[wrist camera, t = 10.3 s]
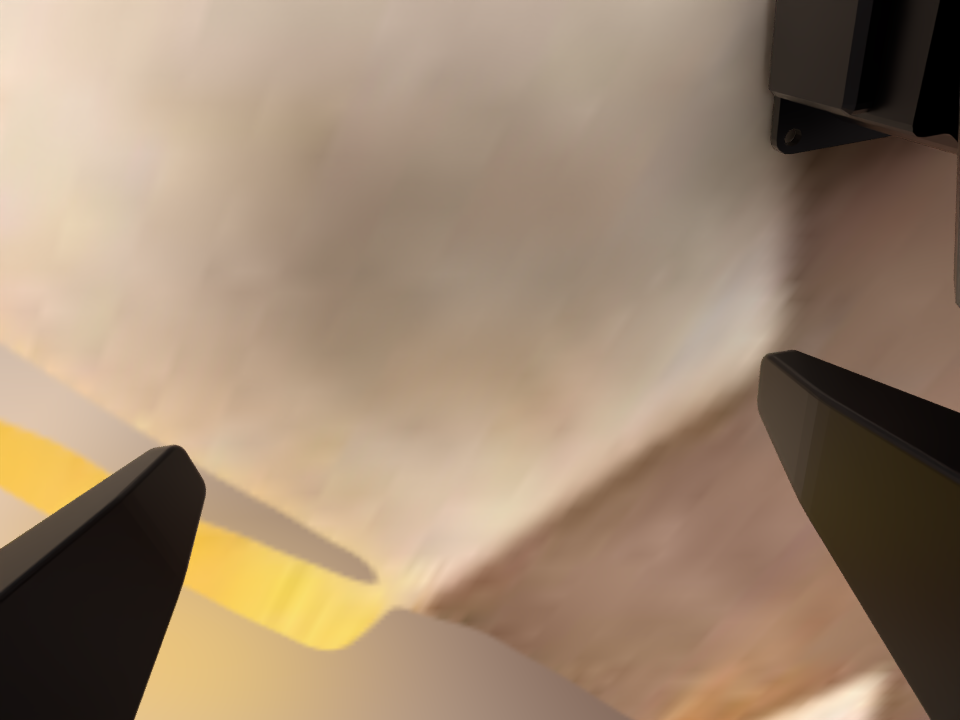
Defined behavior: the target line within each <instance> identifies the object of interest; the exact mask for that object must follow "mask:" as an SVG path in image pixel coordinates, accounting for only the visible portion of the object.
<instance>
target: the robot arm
mask: <svg viewBox="0 0 960 720" xmlns="http://www.w3.org/2000/svg"><path fill="white" fill-rule="evenodd" d="M769 90H770V91H771V92H772V93H773V94H774V95H775V97H774V107H773V118H772V129H771V144H772V146H773V148H774V149H776V150H778V151H780V152H782V153H784V154H794V153H799V152H805V151H810V150H816V149H821V148H827V147H832V146H838V145H843V144H849V143H854V142H860V141H865V140H871V139H876V138H882V137H887V136H896V137H899V138H902V139H906V140H909V141H913V142H916V143H919V144H923V145H926V146H930V147H933V148H936V149H940V150H943V151H946V152H950V153H953V154H957V155H958V160H957V191H956V222H955V253H954V287H955V300H956V304H957V305H958V306H959V307H960V0H776V10H775V22H774V33H773V44H772V56H771V67H770V79H769ZM792 129H795V136H794V138H793V139H792V140H791V141H790V142H788V143H785V136H786V134H787V133H788V132H789V131H790V130H792ZM757 406H758V411H759V414H760V417H761V419H762V421H763V423H764V426H765V428H766V430H767V432H768V434H769V437H770V439H771V441H772V443H773V445H774V448H775V450H776V452H777V454H778V457H779V459H780V461H781V463H782V465H783V468H784V470H785V472H786V474H787V476H788V479H789V481H790V483H791V485H792V487H793V490H794V492H795V494H796V496H797V498H798V500H799V502H800V504H801V505H802V507H803V509H804V511H805V513H806V514H807V516H808V518H809V519H810V521H811V523H812V524H813V526H814V528H815V529H816V531H817V533H818V534H819V536H820V538H821V539H822V541H823V543H824V544H825V546H826V548H827V549H828V551H829V553H830V554H831V556H832V558H833V559H834V561H835V562H836V564H837V566H838V567H839V569H840V571H841V572H842V574H843V576H844V577H845V579H846V581H847V582H848V584H849V586H850V587H851V589H852V591H853V592H854V594H855V596H856V597H857V599H858V601H859V602H860V604H861V605H862V607H863V609H864V610H865V612H866V614H867V615H868V617H869V619H870V620H871V622H872V624H873V625H874V627H875V629H876V630H877V632H878V634H879V635H880V637H881V639H882V640H883V642H884V644H885V645H886V647H887V648H888V650H889V652H890V653H891V655H892V657H893V658H894V660H895V662H896V663H897V665H898V667H899V668H900V670H901V672H902V673H903V675H904V677H905V678H906V680H907V682H908V683H909V685H910V687H911V688H912V690H913V692H914V693H915V695H916V696H917V698H918V700H919V701H920V703H921V705H922V706H923V708H924V710H925V711H926V713H927V715H928V716H929V718H930V720H960V413H959V412H956V411H954V410H951V409H948V408H946V407H943V406H941V405H938V404H935V403H933V402H930V401H927V400H925V399H922V398H920V397H917V396H914V395H912V394H909V393H907V392H904V391H901V390H899V389H896V388H893V387H891V386H888V385H886V384H883V383H880V382H878V381H875V380H872V379H870V378H867V377H865V376H862V375H859V374H857V373H854V372H852V371H849V370H846V369H844V368H841V367H838V366H836V365H833V364H831V363H828V362H825V361H823V360H820V359H818V358H815V357H812V356H810V355H807V354H804V353H802V352H799V351H796V350H787V351H781V352H775V353H769V354H766V355H765V356H764V357H763V359H762V361H761V366H760V376H759V385H758V395H757ZM205 496H206V488H205V483H204V480H203V478H202V477H201V475H200V473H199V472H198V470H197V469H196V467H195V465H194V464H193V462H192V460H191V459H190V457H189V456H188V454H187V452H186V451H185V450H184V449H183V448H182V447H181V446H178V445H170V446H163V447H157V448H153V449H150V450H149V451H147V452H145V453H144V454H143V455H141V456H139V457H138V458H137V459H135V460H133V461H132V462H130V463H129V464H127V465H126V466H124V467H123V468H122V469H120V470H118V471H117V472H115V473H114V474H112V475H111V476H109V477H108V478H106V479H105V480H103V481H102V482H100V483H99V484H97V485H96V486H94V487H93V488H91V489H90V490H88V491H87V492H85V493H84V494H82V495H81V496H79V497H78V498H76V499H75V500H73V501H72V502H70V503H69V504H67V505H66V506H64V507H63V508H61V509H60V510H58V511H57V512H55V513H54V514H52V515H51V516H49V517H48V518H46V519H45V520H43V521H42V522H40V523H39V524H37V525H36V526H34V527H33V528H31V529H30V530H28V531H27V532H25V533H24V534H22V535H21V536H19V537H18V538H16V539H15V540H13V541H12V542H10V543H9V544H7V545H5V546H4V547H2V548H1V549H0V720H134V719H135V716H136V713H137V711H138V708H139V705H140V702H141V700H142V697H143V694H144V691H145V689H146V686H147V683H148V680H149V678H150V675H151V672H152V669H153V667H154V664H155V661H156V658H157V655H158V653H159V650H160V647H161V644H162V641H163V639H164V636H165V633H166V631H167V628H168V625H169V622H170V620H171V617H172V614H173V611H174V608H175V606H176V603H177V600H178V597H179V594H180V591H181V589H182V586H183V582H184V579H185V575H186V572H187V568H188V564H189V560H190V556H191V552H192V548H193V544H194V540H195V536H196V532H197V528H198V524H199V520H200V516H201V512H202V508H203V504H204V500H205Z"/></svg>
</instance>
